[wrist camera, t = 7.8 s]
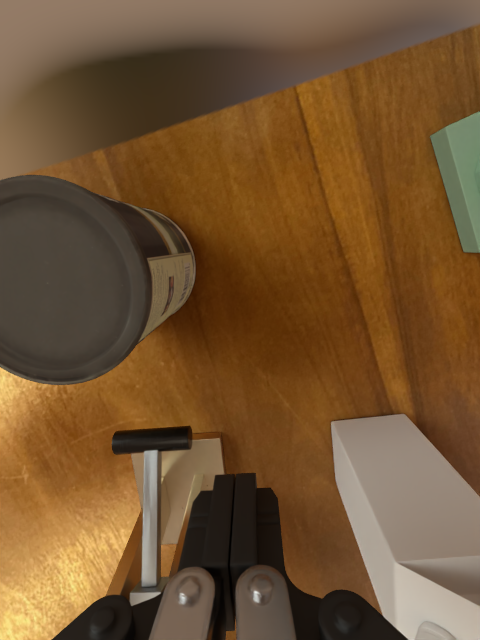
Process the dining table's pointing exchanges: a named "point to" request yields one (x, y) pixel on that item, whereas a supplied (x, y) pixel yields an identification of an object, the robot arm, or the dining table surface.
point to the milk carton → (411, 526)
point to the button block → (462, 176)
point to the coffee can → (82, 278)
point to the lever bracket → (171, 502)
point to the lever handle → (151, 497)
